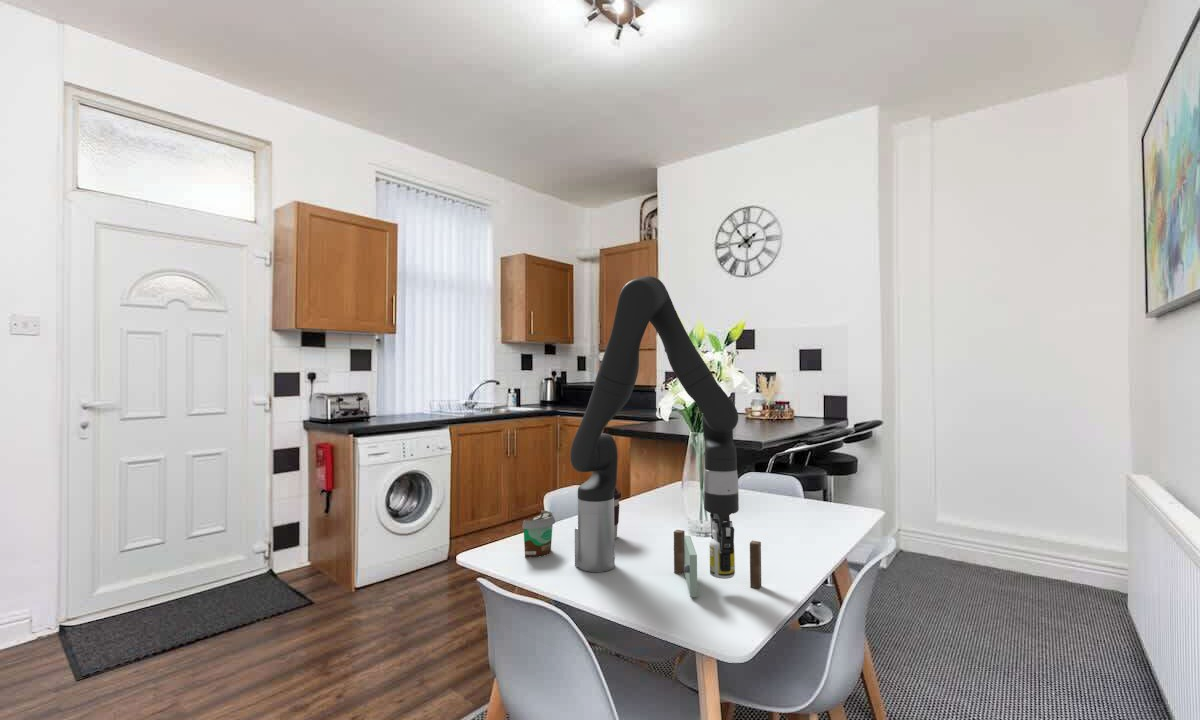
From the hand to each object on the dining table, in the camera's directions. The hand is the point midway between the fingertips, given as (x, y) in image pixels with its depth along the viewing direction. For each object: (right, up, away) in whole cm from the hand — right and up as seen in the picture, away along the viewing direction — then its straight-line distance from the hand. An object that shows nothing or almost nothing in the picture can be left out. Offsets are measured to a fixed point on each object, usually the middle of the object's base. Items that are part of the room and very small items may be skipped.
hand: (722, 565), depth 123 cm
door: (-7, -5, +3) cm, 10 cm away
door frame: (0, -6, +7) cm, 10 cm away
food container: (-43, -7, +28) cm, 51 cm away
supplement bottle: (0, -2, 0) cm, 2 cm away
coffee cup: (-26, -7, +41) cm, 49 cm away
